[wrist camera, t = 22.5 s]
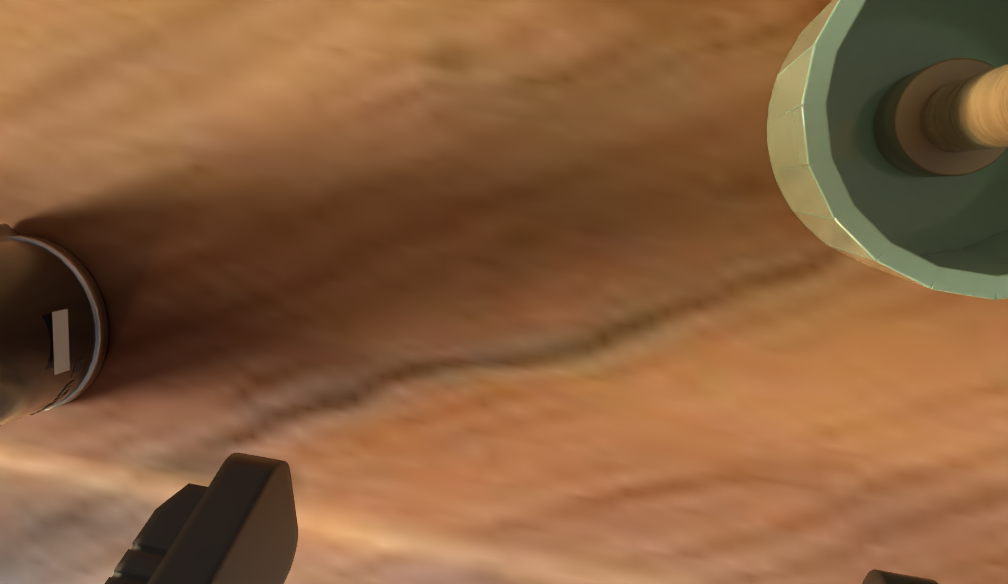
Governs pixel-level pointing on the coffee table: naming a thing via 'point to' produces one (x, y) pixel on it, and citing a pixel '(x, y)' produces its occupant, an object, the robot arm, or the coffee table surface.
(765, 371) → the coffee table surface
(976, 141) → the pestle
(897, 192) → the crock
